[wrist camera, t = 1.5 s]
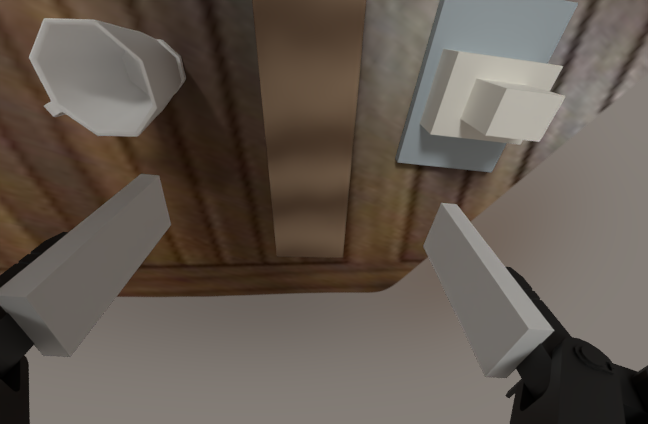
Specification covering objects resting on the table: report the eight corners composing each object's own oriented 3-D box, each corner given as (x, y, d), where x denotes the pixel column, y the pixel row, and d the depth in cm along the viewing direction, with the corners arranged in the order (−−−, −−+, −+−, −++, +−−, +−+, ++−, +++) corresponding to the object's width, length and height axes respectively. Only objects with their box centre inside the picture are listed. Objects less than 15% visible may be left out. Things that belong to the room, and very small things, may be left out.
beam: (260, -77, 19) (241, -109, 14) (362, -72, 19) (375, -103, 14) (282, 225, 33) (276, 256, 29) (339, 226, 34) (342, 257, 29)
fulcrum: (444, -16, 20) (504, -36, 14) (568, 3, 21) (681, -7, 14) (395, 158, 28) (418, 199, 22) (486, 168, 29) (536, 210, 22)
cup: (218, 92, 24) (180, 117, 18) (129, 132, 26) (65, 169, 20) (165, 0, 21) (92, -13, 14) (67, 54, 23) (-38, 67, 16)
